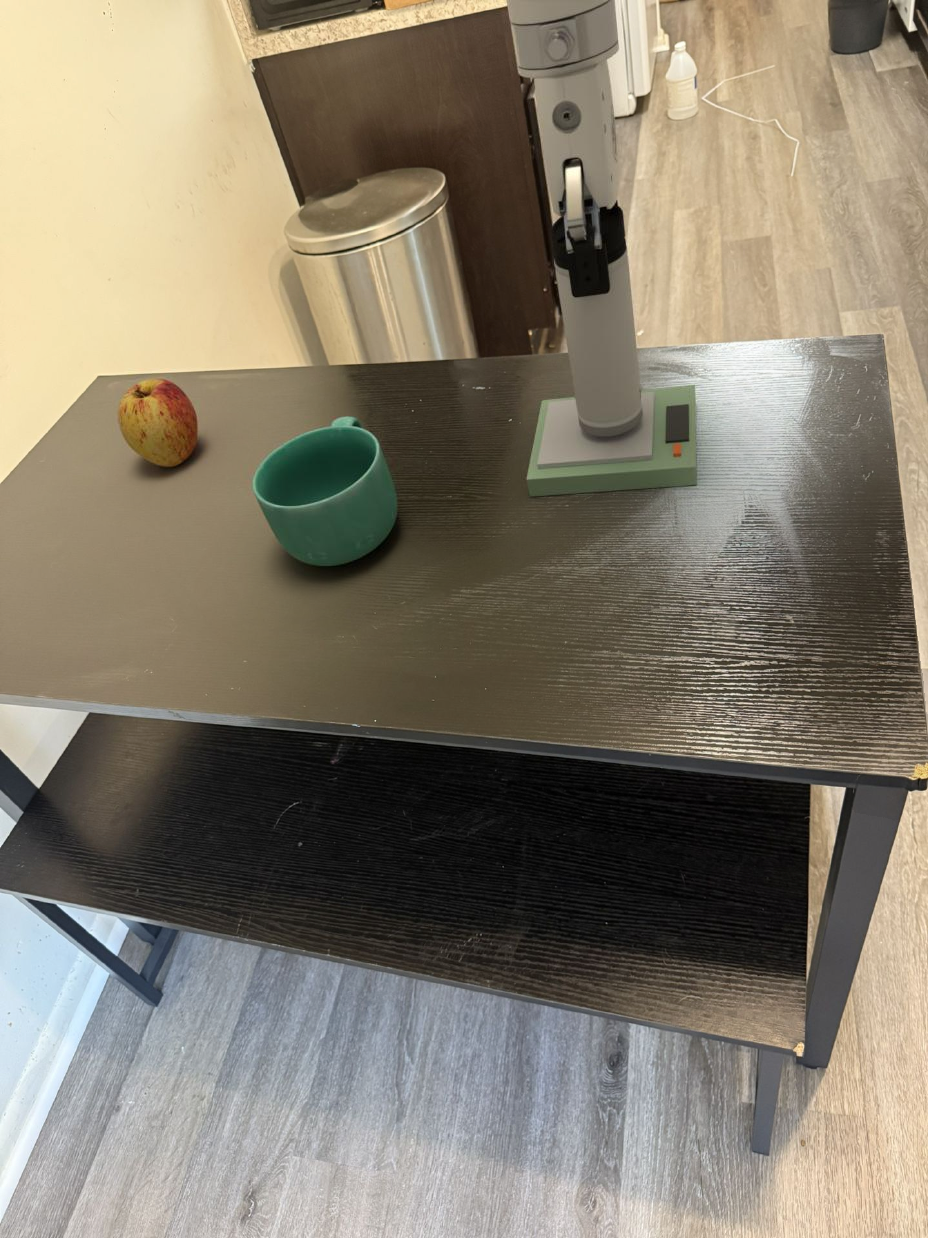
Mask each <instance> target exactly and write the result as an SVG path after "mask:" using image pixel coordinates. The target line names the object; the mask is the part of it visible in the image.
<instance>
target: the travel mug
mask: <svg viewBox="0 0 928 1238" xmlns="http://www.w3.org/2000/svg"><path fill="white" fill-rule="evenodd" d="M618 202H619V201H618V199H617V200H616V203H615V204H614V206H613V207H612V208H611V209H607V206H605V207H599V208H600V225H601V239H602V244H604V243H606V252H607V261H608V270H609V279H610V291H609V292H608V293H607V294H600V295H593V296H586V297H578V298H575V297H573V296H572V292H571V285H570V278H569V271H568V264H567V257H566V249H567V248H566V237H565V226H564V216H562V217H561V216H559V218H557V219H556V221H555V222H554V223H553V224H552V226H551V229H550V232H549V233H550V240H551V246H552V252H553V263H554V264H553V265H554V267H555V278H556V282H557V283H556V284H557V290H558V296H559V303H560V308H561V316H562V321H563V330H564V336H565V341H566V347H567V353H568V360H569V367H570V375H571V380H572V385H573V387H572V388H573V392H574V397H575V400H576V406H577V411H578V419H579V424H580V427H581V428H582V429H583V430H584V431H585V432H587V433H589V434H591V435H595V436H603V437H605V436H615V435H619V434H622V433H625V432H627V431H629V430H631V429H632V428H634V427H635V426H636V425H637V424H638V423H639V422H640V420H641V419H642V416H643V410H642V401H641V390H642V389H641V379H640V369H639V358H638V357H639V356H638V347H637V337H636V327H635V318H634V317H635V316H634V305H633V295H632V283H631V274H630V262H629V256H628V253H629V252H628V245H627V240H626V230H625V229H626V228H625V219H624V217H625V216H624V211H623V209H622V208H621V206H619V203H618ZM589 206H593V203H592V204H587V205H584V207H589ZM585 218H586V223H590V225H591V227H593V225H592V215H590V216H585Z"/></svg>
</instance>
